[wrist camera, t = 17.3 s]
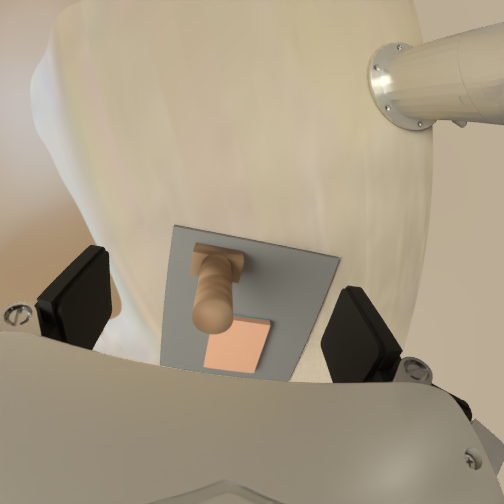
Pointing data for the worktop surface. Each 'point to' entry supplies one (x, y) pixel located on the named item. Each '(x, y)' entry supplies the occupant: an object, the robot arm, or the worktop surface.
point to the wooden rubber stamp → (214, 286)
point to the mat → (246, 301)
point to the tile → (237, 345)
